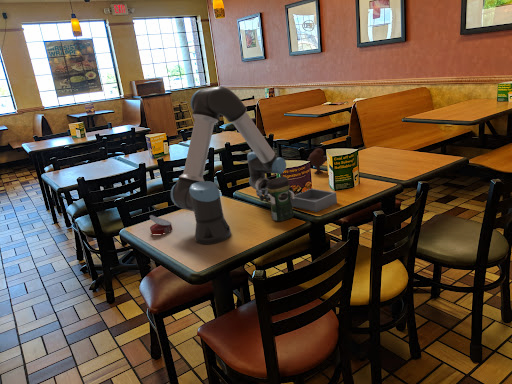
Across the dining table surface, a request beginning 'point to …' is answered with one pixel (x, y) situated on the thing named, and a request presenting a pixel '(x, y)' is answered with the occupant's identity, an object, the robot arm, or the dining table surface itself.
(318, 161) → the ice cream bowl
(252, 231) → the dining table surface
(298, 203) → the open box
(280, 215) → the coffee jar
